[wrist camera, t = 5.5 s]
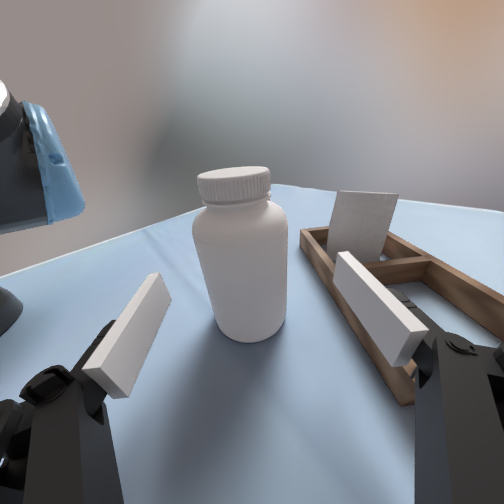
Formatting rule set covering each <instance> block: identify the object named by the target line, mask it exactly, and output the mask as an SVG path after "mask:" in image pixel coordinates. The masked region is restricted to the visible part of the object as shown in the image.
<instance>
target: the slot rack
mask: <svg viewBox="0 0 504 504" xmlns="http://www.w3.org/2000/svg"><path fill="white" fill-rule="evenodd" d="M328 232H329V226H326V227H317V228H308V229H300V246H301V248H302V249H303V251H304V252H305V254H306V256H307V257H308V259H309V260H310V262H311V264H312V265H313V267H314V268H315V270H316V272H317V273H318V275H319V276H320V278H321V280H322V281H323V283H324V284H325V286H326V288H327V289H328V291H329V292H330V294H331V296H332V297H333V299H334V300H335V302H336V304H337V305H338V307H339V308H340V310H341V312H342V313H343V315H344V316H345V318H346V320H347V321H348V323H349V324H350V326H351V328H352V329H353V331H354V332H355V334H356V336H357V337H358V339H359V340H360V342H361V344H362V345H363V347H364V348H365V350H366V352H367V353H368V355H369V356H370V358H371V360H372V361H373V363H374V364H375V366H376V368H377V369H378V371H379V372H380V374H381V376H382V377H383V379H384V380H385V382H386V384H387V385H388V387H389V388H390V390H391V392H392V393H393V395H394V396H395V398H396V400H397V401H398V403H399V404H400V406H408V405H415V377H414V378H413V379H411V378H410V376H411V374H412V372H413V371H414V369H415V368H416V366H417V365H416V363H415V362H414V361H413V360H412V358H411V360H410V362H409V363H408V365H407V366H398V367H391V365H390V364H389V362H388V361H387V359H386V358H385V357H384V355H383V354H382V352H381V351H380V349H379V348H378V346H377V345H376V344H375V342H374V341H373V339H372V338H371V336H370V335H369V333H368V332H367V330H366V329H365V328H364V326H363V325H362V323H361V322H360V320H359V319H358V317H357V316H356V315H355V313H354V312H353V310H352V309H351V307H350V306H349V304H348V303H347V301H346V300H345V299H344V297H343V296H342V294H341V293H340V291H339V290H338V288H337V287H336V286H335V284H334V283H333V277H334V271H335V264H334V262H333V261H332V260H331V259H330V258H329V256H328V255H327V254H326V253H325V251H324V250H323V249H322V248H321V247H320V245H324V244H327V240H328ZM382 253H384V254H385V255H387V256H388V257H389V258H391V259H392V260H384V261H376V262H367V263H361V264H362V265H363V266H364V267H365V268H366V269H367V270H368V271H369V272H370V273H371V274H372V275H373V276H374V277H375V278H376V279H377V280H378V281H379V282H380V283H381V284H382V285H389V284H397V283H406V282H414V281H422V282H423V283H425V284H426V285H427V286H429V287H430V288H431V289H433V290H434V291H436V292H437V293H438V294H440V295H441V296H442V297H444V298H445V299H446V300H448V301H449V302H451V303H452V304H453V305H455V306H456V307H457V308H459V309H460V310H461V311H463V312H464V313H466V314H467V315H468V316H470V317H471V318H472V319H474V320H475V321H476V322H478V323H479V324H480V325H482V326H483V327H485V328H486V329H487V330H489V331H490V332H491V333H493V334H494V335H495V336H497V337H498V338H500V339H501V340H502V341H504V296H503V295H501V294H500V293H498V292H496V291H494V290H492V289H491V288H489V287H487V286H485V285H484V284H482V283H480V282H478V281H476V280H475V279H473V278H471V277H469V276H467V275H466V274H464V273H462V272H460V271H459V270H457V269H455V268H453V267H451V266H450V265H448V264H446V263H444V262H443V261H441V260H439V259H437V258H435V257H434V256H432V255H430V254H428V253H427V252H425V251H423V250H421V249H419V248H418V247H416V246H414V245H412V244H411V243H409V242H407V241H405V240H403V239H402V238H400V237H398V236H396V235H395V234H393V233H391V232H389V231H388V233H387V236H386V239H385V243H384V246H383V249H382Z"/></svg>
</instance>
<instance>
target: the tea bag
mask: <svg viewBox="0 0 504 504" xmlns="http://www.w3.org/2000/svg"><path fill="white" fill-rule="evenodd" d="M398 197H399V194H395V193H375V192H355V191H337V196H336V200H335V205H334V209H333V212H332V216H331V220H330V225H329V232H328V240H327V248H326V254H327V255H328V256H329V258H330V259H331V260H332V261H336V259H337V253H338V252H345V251H348V252H349V253H350V254H351V255H352V256H353V257H354V258H355V259H356V260H357V261H359V262H360V263H367V262H376V261H379V259H380V256H381V252H382V249H383V246H384V243H385V239H386V236H387V233H388V230H389V226H390V223H391V220H392V217H393V213H394V210H395V207H396V203H397V200H398Z"/></svg>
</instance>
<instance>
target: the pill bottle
mask: <svg viewBox="0 0 504 504" xmlns="http://www.w3.org/2000/svg"><path fill="white" fill-rule="evenodd" d="M197 184H198V188H199V192H200V196H201V198H203V199H202V203H203V204H204V205H205V206H207V208H205V209H203V210H202V211H201V212H200V213H199V214H198V215H197V216H196V217H195V219H194V222H193V226H192V235H193V239H194V243H195V246H196V250H197V254H198V257H199V261H200V265H201V268H202V272H203V276H204V279H205V283H206V286H207V290H208V294H209V297H210V301H211V305H212V308H213V312H214V316H215V319H216V322H217V324H218V326H219V328H220V329H221V331H222V332H223V333H224V334H225V335H226V336H228V337H229V338H231V339H233V340H236V341H239V342H244V343H253V342H259V341H262V340H265V339H267V338H269V337H271V336H272V335H273V334H275V333H276V332H277V331H278V330H279V329H280V327H281V326H282V324H283V322H284V319H285V316H286V305H287V249H288V221H287V218H286V215H285V213H284V211H283V209H282V208H281V207H280V206H278V205H277V204H275V203H273V202H271V201H268V199H269V198H270V197H271V193H270V191H269V190H270V171H269V169H268V168H266V167H258V166H257V167H256V166H251V167H235V168H226V169H220V170H214V171H209V172H205V173H202V174H200V175H198V177H197Z"/></svg>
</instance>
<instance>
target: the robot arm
mask: <svg viewBox="0 0 504 504" xmlns="http://www.w3.org/2000/svg"><path fill="white" fill-rule="evenodd" d="M84 208H85V201H84V198H83V195H82V192H81V190H80V187H79V184H78V182H77V180H76V177H75V174H74V172H73V169H72V167H71V165H70V162H69V160H68V158H67V155H66V153H65V150H64V148H63V146H62V143H61V141H60V139H59V137H58V134H57V132H56V130H55V128H54V126H53V124H52V122H51V120H50V118H49V117H48V115H47V113H46V111H45V110H44V109H43V108H42V107H41V106H39V105H36V104H31V103H29V102H26V101H22V102H20V103H17V101H16V100H15V99H14V97H13V96H12V95H11V93H10V92H9V90H8V89H7V87H6V86H5V85H4V84H3V83H2V81H1V80H0V234H5V233H10V232H15V231H20V230H25V229H29V228H34V227H39V226H43V225H51V224H53V223H54V222H57V221H61V220H64V219H68V218H72V217H75V216H78V215H80V213H82V212H83V210H84ZM333 283H334V284H335V286H336V287H337V288H338V290H339V291H340V293H341V294H342V296H343V297H344V299H345V300H346V301H347V303H348V304H349V306H350V307H351V309H352V310H353V312H354V313H355V315H356V316H357V317H358V319H359V320H360V322H361V323H362V325H363V326H364V328H365V329H366V330H367V332H368V333H369V335H370V336H371V338H372V339H373V341H374V342H375V344H376V345H377V346H378V348H379V349H380V351H381V352H382V354H383V355H384V357H385V358H386V359H387V361H388V362H389V364H390V365H391V367H398V366H407V365H408V363H409V362H410V360H411V358H412V360H413V361H414V362H415V363H416V365H417V366H416V368H415V369H414V371H413V372H412V374H411V376H410V378H411V379H413V378H414V377H415V504H504V343H502V344H501V345H500V346H499V347H498V348H492V347H486V346H480V345H474V344H473V343H471V342H470V341H468V340H467V339H465V338H463V337H461V336H459V335H457V334H453V333H449V332H445V331H444V330H443V329H442V328H440V327H439V326H438V325H437V324H436V323H435V322H434V321H433V320H432V319H430V318H429V317H428V316H427V315H426V314H425V313H424V312H423V311H422V310H420V309H419V308H417V306H416V305H415V304H414V303H413V302H411V301H410V300H409V299H408V298H407V297H406V296H405V295H404V294H403V293H401V292H399V291H397V290H396V289H394V288H385V287H384V286H383V285H382V284H381V283H380V282H379V281H378V280H377V279H376V278H375V277H374V276H373V275H372V274H371V273H370V272H369V271H368V270H367V269H366V268H365V267H364V266H363V265H362V264H361V263H360V262H359V261H357V260H356V259H355V258H354V257H353V256H352V255H351V254H350V253H349V252H348V251H345V252H338V253H337V259H336V265H335V271H334V277H333ZM171 301H172V299H171V297H170V294H169V292H168V290H167V287H166V285H165V283H164V281H163V278H162V276H161V274H160V272H159V273H150V274H149V275H148V276H147V278H146V279H145V281H144V282H143V284H142V285H141V286H140V288H139V289H138V291H137V292H136V293H135V295H134V296H133V298H132V299H131V300H130V302H129V303H128V305H127V306H126V307H125V309H124V310H123V312H122V313H121V315H120V316H119V317H118V319H117V320H112V321H111V322H110V323H108V324H107V325H106V326H105V327H104V328H103V329H102V330H101V332H100V333H99V334H98V336H97V338H95V340H94V341H93V342H92V344H91V346H89V348H88V349H87V350H86V352H85V353H84V354H83V356H82V357H81V358H80V360H79V361H78V362H77V364H76V365H75V366H74V368H73V369H72V370H71V372H69V371H68V370H67V369H66V368H65V367H63V366H61V365H55V366H51V367H49V368H47V369H45V370H43V371H41V372H40V373H38V374H37V375H36V376H34V377H33V378H32V379H31V380H30V381H29V382H28V383H27V384H26V385H25V386H24V388H23V389H22V390H21V393H20V395H19V397H21V398H22V399H24V400H25V401H24V402H22V403H17V402H16V401H14V400H12V399H6V400H3V401H0V461H1V459H2V458H4V461H3V463H2V465H1V467H0V504H124V501H123V496H122V490H121V485H120V479H119V474H118V468H117V463H116V457H115V452H114V447H113V441H112V436H111V430H110V425H109V419H108V414H107V408H106V405H105V403H104V402H103V401H104V399H105V397H106V395H107V394H108V395H109V396H110V397H111V398H113V399H119V398H127V397H129V395H130V393H131V391H132V389H133V386H134V384H135V382H136V380H137V377H138V375H139V373H140V371H141V368H142V366H143V364H144V362H145V359H146V357H147V355H148V352H149V350H150V348H151V346H152V343H153V341H154V339H155V337H156V334H157V332H158V330H159V328H160V325H161V323H162V321H163V319H164V316H165V314H166V312H167V310H168V307H169V305H170V303H171ZM22 309H23V304H22V302H21V301H20V300H19V299H18V298H16V297H15V296H14V295H13V294H12V293H11V292H10V291H8V290H6V289H4V288H2V287H0V335H1V334H2V333H3V332H5V331H6V330H7V329H8V328H9V327H10V326H11V325H12V324H13V323H14V322H15V321H16V319H17V318H18V317H19V315H20V314H21V312H22Z"/></svg>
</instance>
